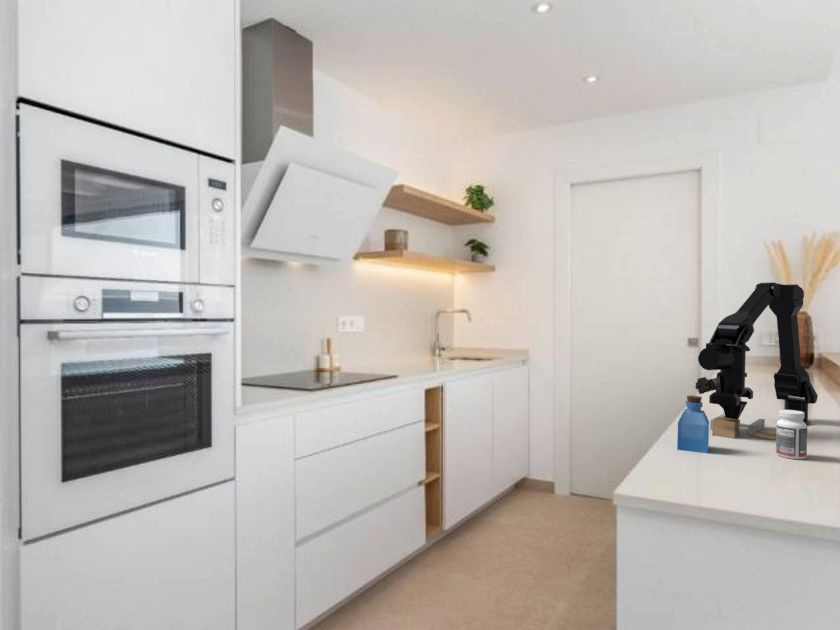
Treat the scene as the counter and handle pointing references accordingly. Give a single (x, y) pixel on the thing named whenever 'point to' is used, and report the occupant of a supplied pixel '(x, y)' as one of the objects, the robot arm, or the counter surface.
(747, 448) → the counter surface
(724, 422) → the block
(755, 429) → the channel
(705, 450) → the blue corked bottle
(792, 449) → the pill bottle
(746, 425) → the trap tile
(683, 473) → the counter surface
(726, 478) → the counter surface
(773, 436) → the coaster
